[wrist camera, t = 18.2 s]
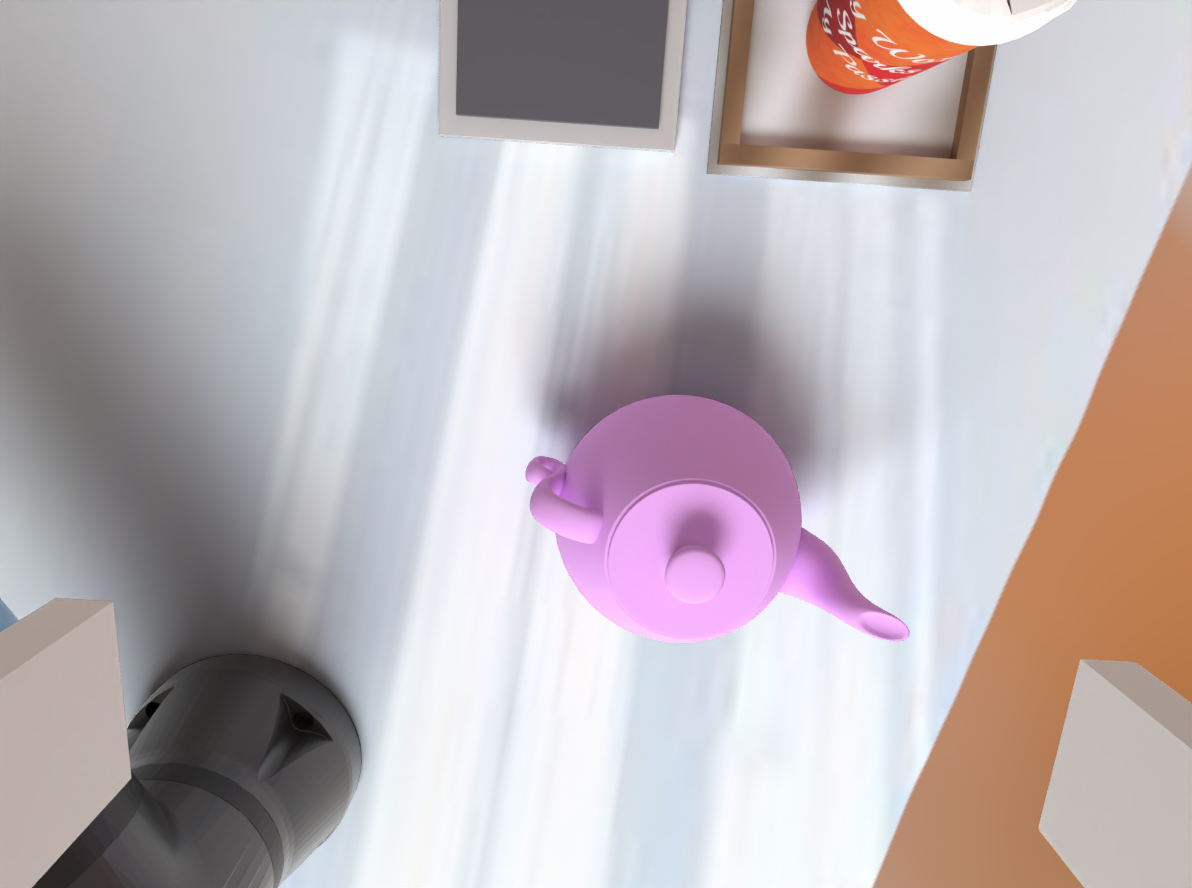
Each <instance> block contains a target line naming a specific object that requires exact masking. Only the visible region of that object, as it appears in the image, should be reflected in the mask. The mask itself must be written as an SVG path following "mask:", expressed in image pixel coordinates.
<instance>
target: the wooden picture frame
mask: <svg viewBox="0 0 1192 888" xmlns="http://www.w3.org/2000/svg"><path fill="white" fill-rule="evenodd" d="M816 2H817V0H723V8H722V19H721V29H720V40H719V50H718V61H717V71H716V82H715V92H714V103H713V113H712V124H711V134H710V145H709V155H708V166H707V174H719V175H733V176H748V177H763V178H777V179H792V180H807V181H821V182H836V183H850V184H865V185H880V186H894V187H909V188H924V189H938V190H953V191H968V192H970V191H971V189H972V183H973V178H974V172H975V166H976V161H977V155H978V150H979V144H980V138H981V133H982V127H983V122H984V116H985V110H986V105H987V99H988V94H989V88H990V82H991V77H992V71H993V65H994V60H995V54H996V49H997V44H995V45H986V46H978V47H976V48H974V49H972V50H970V51H967V52H965V53H963V54H961V55H958V56H956V57H954V58H952V59H950V60H947V61H945V62H943V63H941V64H939V65H936V66H934V67H932V68H930V69H927V70H925V71H923V72H921V73H918V74H916V75H914V76H912V77H909V78H907V79H905V80H902V81H900V82H898V83H895V84H893V85H891V86H888V87H886V88H883V89H881V90H878V91H874V92H871V93H867V94H858V95H853V94H845V93H842V92H839V91H836V90H834V89H832V88H831V87H829V86H828V85H826V84H825V83H824V82H823V81H822V80H821V79H820V78H819V77H818V76H817V74H816V73H815V71H814V70H813V68H812V66H811V63H810V61H809V58H808V54H807V48H806V31H807V26H808V21H809V18H810V15H811V12H812V10H813V8H814V6H815V4H816Z"/></svg>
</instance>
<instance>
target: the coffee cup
mask: <svg viewBox="0 0 1192 888" xmlns="http://www.w3.org/2000/svg"><path fill="white" fill-rule="evenodd" d="M1076 1H1077V0H817V2H816V4H815V6H814V8H813V10H812V12H811V15H810V18H809V21H808V26H807V31H806V48H807V54H808V58H809V61H810V63H811V66H812V68H813V70H814V71H815V73H816V74H817V76H818V77H819V78H820V79H821V80H822V81H823V82H824V83H825V84H826V85H828V86H829V87H831V88H832V89H834V90H836V91H839V92H842V93H845V94H853V95H858V94H867V93H871V92H874V91H878V90H881V89H883V88H886V87H888V86H891V85H893V84H895V83H898V82H900V81H902V80H905V79H907V78H909V77H912V76H914V75H916V74H918V73H921V72H923V71H925V70H927V69H930V68H932V67H934V66H936V65H939V64H941V63H943V62H945V61H947V60H950V59H952V58H954V57H956V56H958V55H961V54H963V53H965V52H967V51H970V50H972V49H974V48H976V47H978V46H986V45H995V44H1001V43H1005V42H1008V41H1012V40H1015V39H1018V38H1020V37H1022V36H1024V35H1027V34H1029V33H1031V32H1033V31H1035V30H1037V29H1038V28H1040V27H1041V26H1043V25H1044V24H1046V23H1047V22H1049V21H1050V20H1052V19H1053V18H1055V17H1057V16H1058V15H1060V14H1062V13H1063V12H1065V11H1067V10H1068V9H1070V8H1071V7H1072V5H1073V4H1074V3H1075V2H1076Z"/></svg>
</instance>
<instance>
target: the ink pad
mask: <svg viewBox="0 0 1192 888" xmlns="http://www.w3.org/2000/svg"><path fill="white" fill-rule="evenodd" d="M686 10H687V0H440V68H439V135H440V136H442V137H455V138H470V139H485V140H499V141H514V142H528V143H543V144H557V145H572V146H587V147H601V148H616V149H630V150H645V151H659V152H674V150H675V140H676V128H677V116H678V104H679V92H680V81H681V69H682V57H683V45H684V33H685V21H686Z"/></svg>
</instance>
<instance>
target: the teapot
mask: <svg viewBox="0 0 1192 888" xmlns="http://www.w3.org/2000/svg"><path fill="white" fill-rule="evenodd" d="M526 479H527V481H529V482H530V483H533V484H536V485H537V486H536V488H535V489H534V491H533V494H532V496H531V501H530V510H531V513H532V515H533V517H534V518H535V519H536V520H537V521H538V522H539V523H540V524H541V525H543V526H544V527H546V528H548V529H549V530H551V531H553V532H555V533H556V539H557V544H558V548H559V551H560V554H561V557H562V560H563V563H564V565H565V567H566V569H567V571H568V573H569V576H570V577H571V579H572V580H573V582H574V583H575V585H576V587H577V588H578V590H579V591H580V593H581V594H582V595H583V596H584V597H585V599H586V600H587V601H588V602H589V603H590V604H591V605H592V606H593V607H594V608H595V609H596V610H597V611H599V612H600V613H601V614H602V615H603V616H605V617H606V618H607V619H609V620H610V621H612V622H613V623H615V624H616V625H618V626H620V627H622V628H624V629H626V630H628V631H630V632H632V633H635V634H638V635H640V636H643V637H647V638H651V639H655V640H659V641H665V642H674V643H691V642H699V641H705V640H709V639H713V638H717V637H720V636H723V635H725V634H728V633H730V632H732V631H734V630H736V629H738V628H740V627H742V626H743V625H745V624H746V623H748V622H749V621H751V620H752V619H754V618H755V617H756V616H757V615H758V614H759V613H760V612H762V611H763V610H764V609H765V608H766V607H767V605H768V604H769V603H770V602H771V601H772V600H773V599H774V598H775V596H776V595H777V594H778V592H781V593H784V594H788V595H791V596H794V597H796V598H799V599H801V600H804V601H806V602H809V603H811V604H813V605H815V606H817V607H819V608H821V609H823V610H825V611H827V612H828V613H830V614H832V615H833V616H835V617H837V618H838V619H840V620H842V621H844V622H845V623H847V624H849V625H850V626H852V627H854V628H856V629H858V630H860V631H861V632H863V633H865V634H868V635H870V636H873V637H876V638H879V639H883V640H889V641H903V640H905V639H907V638H908V636H909V633H910V631H909V629H908V627H907V626H906V625H905V624H904V623H903V622H902V621H901V620H900V619H898V618H897V617H895V616H894V615H892V614H890V613H888V612H887V611H885V610H883V609H881V608H879V607H878V606H876V605H874V604H873V603H871V602H870V601H869V600H868V599H866V598H865V597H864V596H863V595H862V594H861V593H860V592H859V591H858V590H857V588H856V587H855V585H854V584H853V583H852V581H851V579H850V577H849V575H848V574H847V572H846V570H845V568H844V566H843V564H842V563H841V561H840V559H839V558H838V557H837V555H836V554H835V553H834V551H833V550H832V549H831V548H830V547H829V546H828V545H827V544H826V543H825V542H823V541H822V540H820V539H819V538H818V537H816V536H815V535H813V534H812V533H810V532H808V531H807V530H805V529H804V528H802V527H801V522H802V517H801V504H800V496H799V492H798V488H797V483H796V480H795V477H794V474H793V472H792V469H791V466H790V464H789V462H788V461H787V459H786V457H785V455H784V453H783V452H782V450H781V449H780V448H779V446H778V445H777V444H776V442H775V441H774V440H773V438H772V437H771V436H770V435H769V434H768V433H767V432H766V431H765V430H764V429H763V428H762V427H761V426H760V425H759V424H758V423H757V422H755V421H754V420H753V419H751V418H750V417H749V416H748V415H746V414H744V413H742V412H741V411H739V410H737V409H735V408H734V407H731V406H729V405H726V404H724V403H721V402H719V401H716V400H712V399H708V398H704V397H699V396H691V395H664V396H657V397H651V398H647V399H643V400H640V401H636V402H634V403H631V404H629V405H627V406H624V407H622V408H620V409H618V410H617V411H615V412H613V413H611V414H610V415H608V416H607V417H605V418H604V419H603V420H601V421H600V422H599V423H597V424H596V425H595V426H594V427H593V428H592V429H591V430H590V431H589V432H588V433H587V434H586V435H585V436H584V437H583V438H582V439H581V441H580V442H579V443H578V445H577V446H576V447H575V449H574V450H573V452H572V454H571V455H570V457H569V459H568V461H567V462H566V465H564V464H563V463H562V462H560V461H558V460H556V459H553V458H549V457H543V456H538V457H535V458H534V459H533V460H532V461H531V462H530V463H529V464H528V466H527V469H526Z"/></svg>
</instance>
